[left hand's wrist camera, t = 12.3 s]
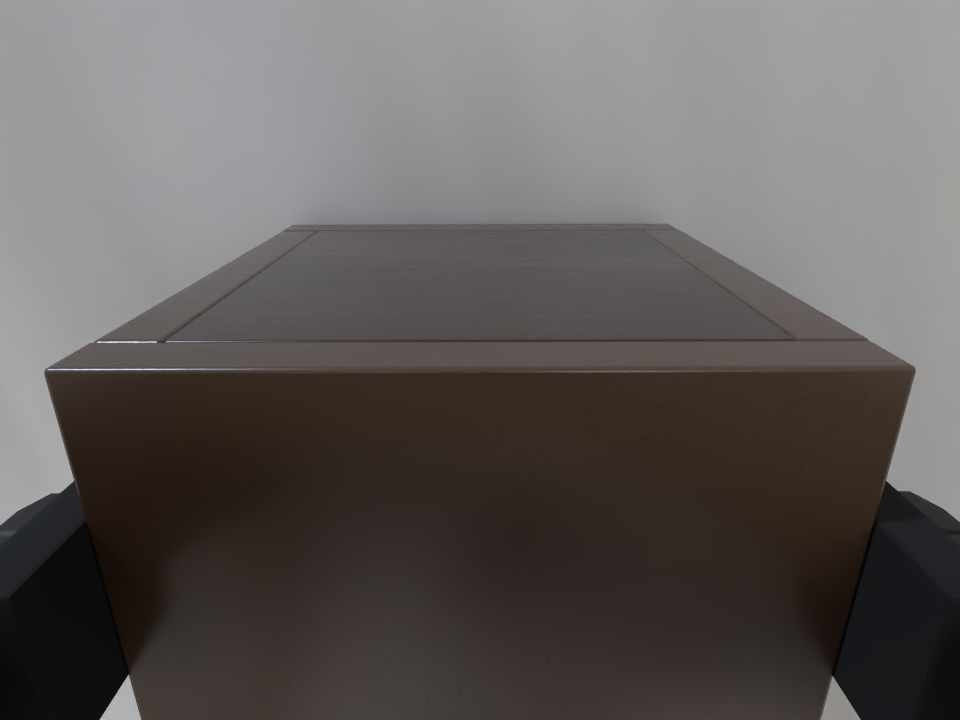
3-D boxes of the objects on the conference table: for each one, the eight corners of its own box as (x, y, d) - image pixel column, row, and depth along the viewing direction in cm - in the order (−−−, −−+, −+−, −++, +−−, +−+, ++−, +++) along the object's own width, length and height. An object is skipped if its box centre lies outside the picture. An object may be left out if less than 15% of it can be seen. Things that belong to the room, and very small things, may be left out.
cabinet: (615, 727, 24) (706, 1141, 14) (348, 727, 24) (258, 1141, 14) (669, 223, 17) (919, 366, 7) (291, 224, 17) (39, 369, 7)
